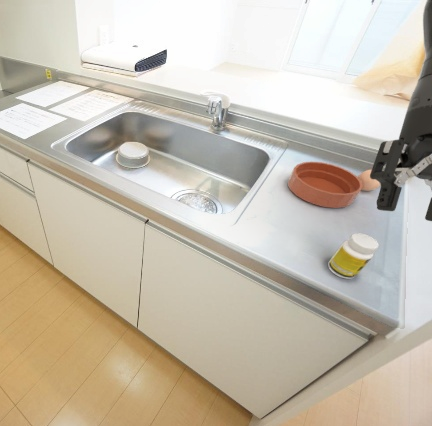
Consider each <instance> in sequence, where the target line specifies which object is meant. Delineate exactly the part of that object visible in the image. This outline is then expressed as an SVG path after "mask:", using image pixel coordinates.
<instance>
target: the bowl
mask: <svg viewBox="0 0 432 426" xmlns="http://www.w3.org/2000/svg"><path fill="white" fill-rule="evenodd" d="M287 186H288V188H289V191H291V192H292V193H293V194H294V195H295V196H297V197H298V198H300V199H302V200H303V201H305V202H308V203H310V204H313V205H316V206H320V207H324V208H334V209H339V208H346V207H348V206H350V205H352V204H353V203H354V202H355V200H356V199H357V197H358V195H359V194H360V193H361V191H363V190H362V188H363V185H362V182H361V180H360V179H359V178H358V176H357V175H356V174H354V173H353V172H351V171H350V170H347V169H345V168H343V167H341V166H338V165H335V164H332V163H327V162H321V161H305V162H303V161H302V162H300V163H298V164H296V165H295V166H294V167H293V169H292V171H291V173H290V176H289V178H288V180H287Z"/></svg>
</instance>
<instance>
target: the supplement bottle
mask: <svg viewBox="0 0 432 426" xmlns="http://www.w3.org/2000/svg"><path fill="white" fill-rule="evenodd" d="M379 246H380V245H379V242H378V241H377V239H376V238H373V237H372V236H370V235H368V234H366V233H362V232H355V233H353V234H352V235H351V236H350V237H349V238H348V239H347V240H345V241H343V242H342V244H341V245H340V246H339V247H338V249H337V250H336V251H335V253H334V254H333V255H332V256H331V258H330V259H329V261H328V262H327V268H328V269H329V271H331V273H333V274H334V275H335V276H337V277H339V278H341V279H346V280H352V279H354V278H356V277H357V275H358V274H359V273H360V272H361V271H362V270H363V269H364V267H366V265H367V264H368V263H369V262H370V261H371V260H372V259H373V257H374V253H375V252H376V251H377V249H378V248H379Z"/></svg>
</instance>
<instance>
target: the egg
mask: <svg viewBox="0 0 432 426" xmlns="http://www.w3.org/2000/svg"><path fill="white" fill-rule="evenodd" d="M371 171H372V168H371V169H367V170H364V171H362V172H361V173H360V174H359V175H358V176H357V177H358V178H359V179H360V180H361V182H362V185H363V188H362V190H361V191H365V192H371V191H374V190H375V191H376V190H377V189H378V188H380V187H381V185H380V184H379V181H377V180H376V179H371V178H370V174H371Z"/></svg>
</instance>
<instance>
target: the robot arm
mask: <svg viewBox="0 0 432 426" xmlns="http://www.w3.org/2000/svg"><path fill="white" fill-rule="evenodd" d="M422 31H423V32H422V33H423V49H424V59H423V63H422V66H421V68H420V73H419V75H418V80H417V82H416V86H415V88H414V89H413V92H412V93H411V96H410V100H409V102H408V106H407V109H406V112H405V116H404V119H403V123H402V126H401V129H400V133H399V136H398V139H392V140H391V139H390V140H386V141H382V142H381V143H380V145H379V148H378V151H377V154H376V157H375V159H374V162H373V165H372V168H371V169H372V171H371V174H370V178H371V179H376V180H377V181H379V184H380V187H379V191H378V196H377V199H376V210H378V211H381V212H394V211H396V209H397V206H398V202H399V199H400V196H401V192H402V189H403V187H402V185H403V184H405V183H406V182H407V181H408V180H409V179H410V178H414V177H416V178H417V179H420V180H424V183H425V185H426V186H429V188H430V190H431V191H432V0H426V2H425V4H424V8H423V13H422ZM424 220H426V221H429V222H432V197H430V201H429V204H428V207H427V211H426V213H425V216H424Z"/></svg>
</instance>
